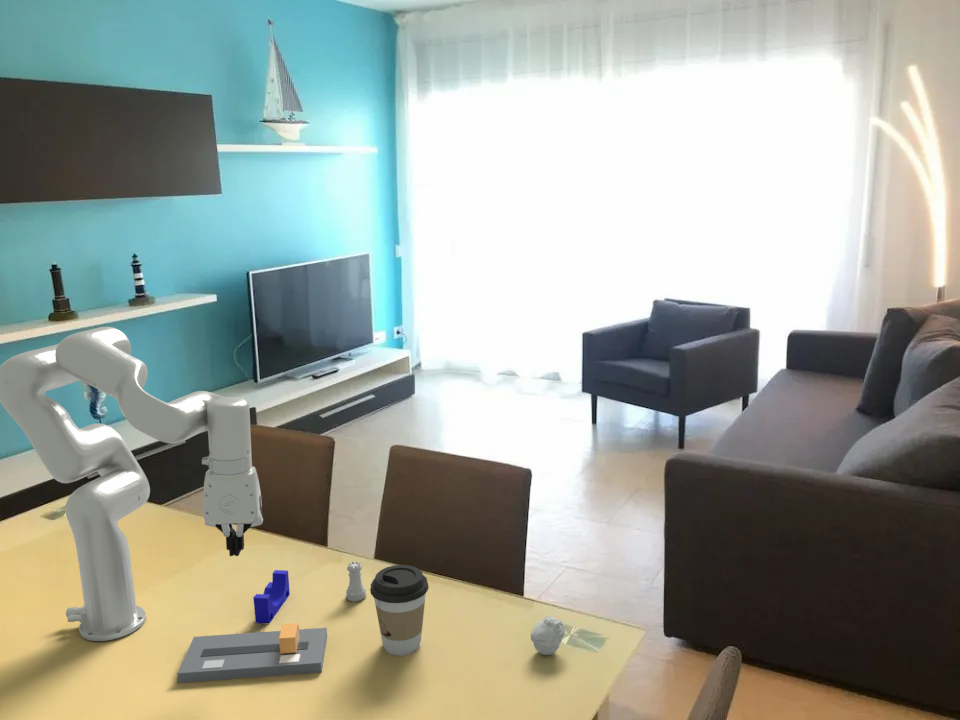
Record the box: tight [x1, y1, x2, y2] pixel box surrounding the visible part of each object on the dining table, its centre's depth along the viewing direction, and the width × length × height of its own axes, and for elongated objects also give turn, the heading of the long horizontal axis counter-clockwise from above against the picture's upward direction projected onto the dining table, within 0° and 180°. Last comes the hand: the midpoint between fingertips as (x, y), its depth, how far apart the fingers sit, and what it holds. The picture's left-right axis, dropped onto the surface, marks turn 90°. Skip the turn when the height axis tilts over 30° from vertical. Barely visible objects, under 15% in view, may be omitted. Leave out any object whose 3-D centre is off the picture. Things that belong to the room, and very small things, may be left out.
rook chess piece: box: [345, 560, 367, 603], centre depth 173 cm, size 4×4×8 cm
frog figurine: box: [530, 615, 566, 656], centre depth 151 cm, size 6×7×7 cm
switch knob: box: [279, 622, 300, 654], centre depth 151 cm, size 3×5×3 cm, turn 6°
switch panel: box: [176, 627, 328, 684], centre depth 151 cm, size 26×12×2 cm, turn 96°
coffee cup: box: [369, 564, 430, 657], centre depth 153 cm, size 11×11×15 cm
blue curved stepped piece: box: [253, 569, 291, 624], centre depth 169 cm, size 12×4×6 cm, turn 173°
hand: (235, 552), depth 151 cm, fingers closed
